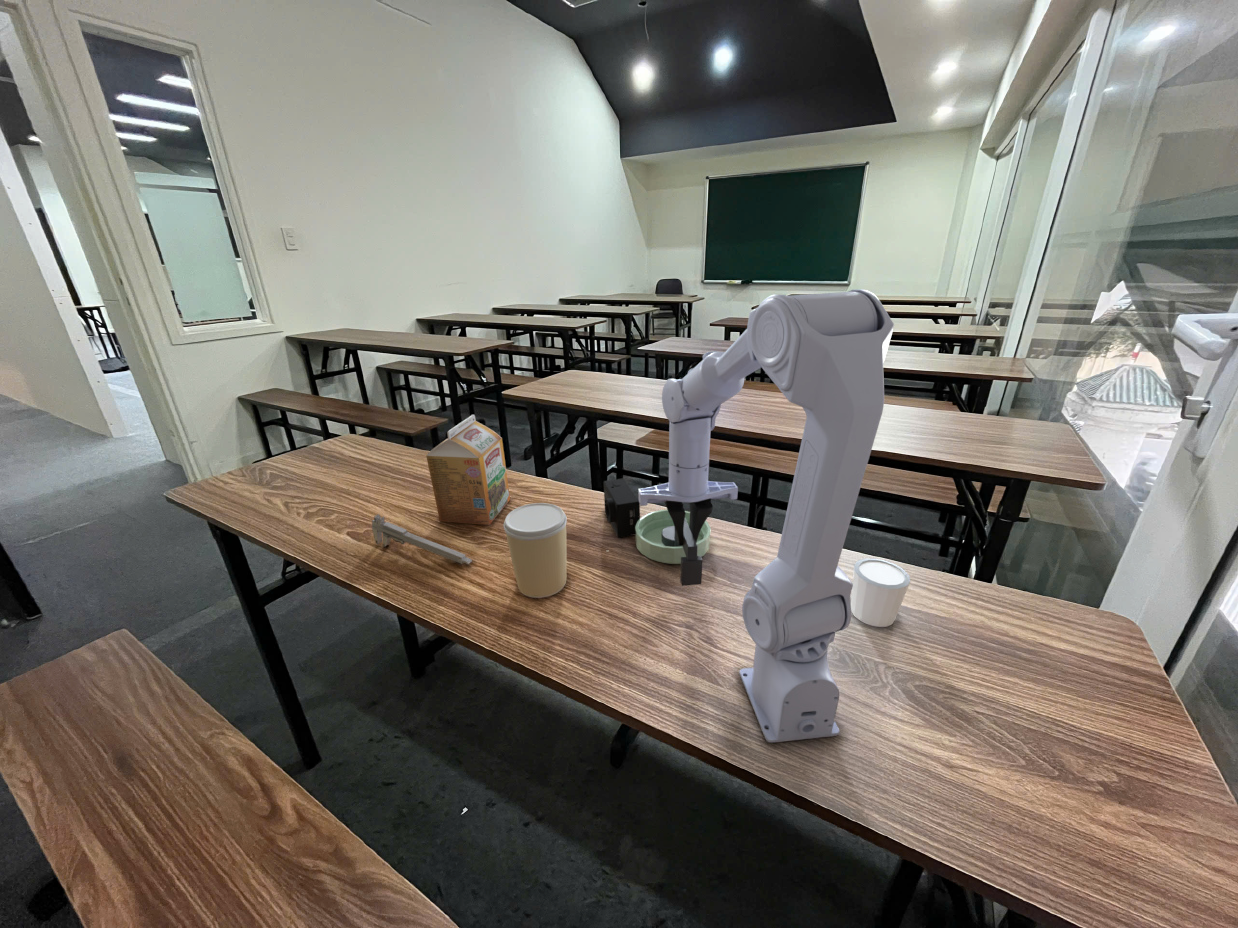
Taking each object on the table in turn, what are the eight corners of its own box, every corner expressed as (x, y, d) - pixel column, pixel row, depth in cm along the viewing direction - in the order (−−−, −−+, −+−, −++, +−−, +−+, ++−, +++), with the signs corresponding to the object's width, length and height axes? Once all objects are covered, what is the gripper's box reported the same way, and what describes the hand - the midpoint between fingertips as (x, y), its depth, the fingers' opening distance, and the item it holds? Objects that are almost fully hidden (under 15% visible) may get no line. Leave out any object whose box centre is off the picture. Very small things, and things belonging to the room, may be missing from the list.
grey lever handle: (707, 583, 72) (709, 545, 70) (676, 586, 72) (676, 548, 69) (685, 532, 86) (686, 498, 83) (659, 534, 85) (659, 500, 83)
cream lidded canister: (580, 569, 79) (575, 505, 74) (558, 606, 71) (551, 536, 66) (528, 561, 81) (520, 499, 77) (501, 596, 73) (491, 528, 68)
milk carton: (489, 524, 93) (474, 432, 86) (439, 521, 95) (421, 430, 87) (510, 499, 103) (498, 414, 95) (464, 496, 104) (449, 413, 97)
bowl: (718, 562, 80) (719, 545, 78) (640, 568, 79) (640, 551, 77) (699, 523, 91) (700, 507, 90) (631, 528, 90) (631, 511, 89)
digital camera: (598, 512, 96) (597, 481, 94) (624, 508, 98) (624, 477, 95) (611, 539, 87) (610, 505, 84) (640, 534, 88) (639, 500, 86)
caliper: (376, 545, 87) (367, 515, 85) (380, 542, 88) (372, 512, 86) (468, 565, 81) (462, 533, 78) (472, 562, 82) (466, 530, 79)
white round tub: (907, 633, 64) (918, 590, 61) (851, 627, 65) (860, 585, 62) (891, 599, 70) (900, 559, 67) (840, 594, 71) (848, 555, 68)
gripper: (729, 447, 73) (724, 524, 78) (635, 453, 72) (636, 531, 77) (745, 465, 66) (738, 548, 72) (641, 472, 65) (642, 556, 71)
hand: (686, 541), depth 74 cm, fingers closed on grey lever handle
